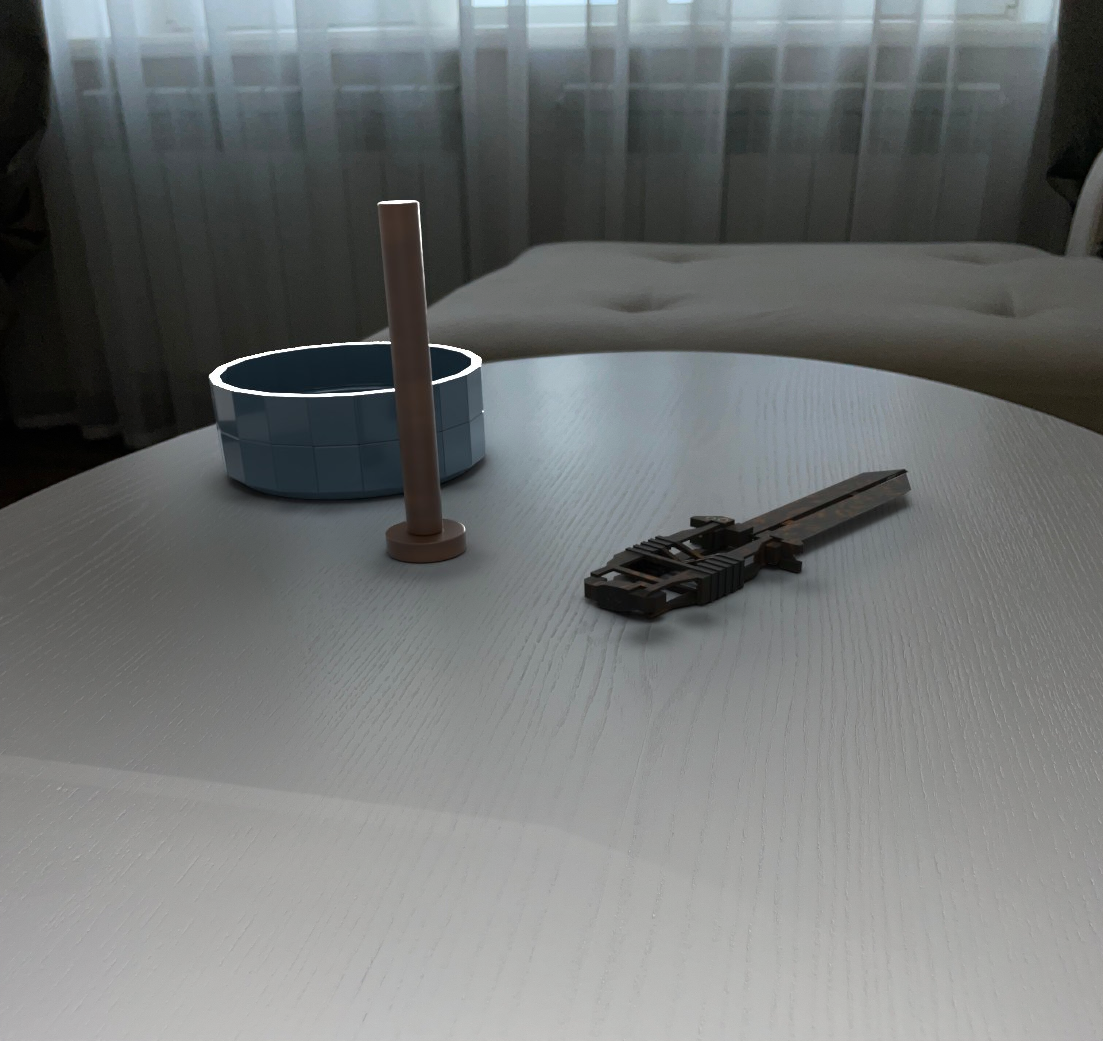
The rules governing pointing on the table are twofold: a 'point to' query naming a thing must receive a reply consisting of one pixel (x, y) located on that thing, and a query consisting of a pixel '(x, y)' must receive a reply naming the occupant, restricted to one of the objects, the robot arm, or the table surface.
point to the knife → (722, 532)
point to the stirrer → (413, 393)
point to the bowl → (338, 419)
